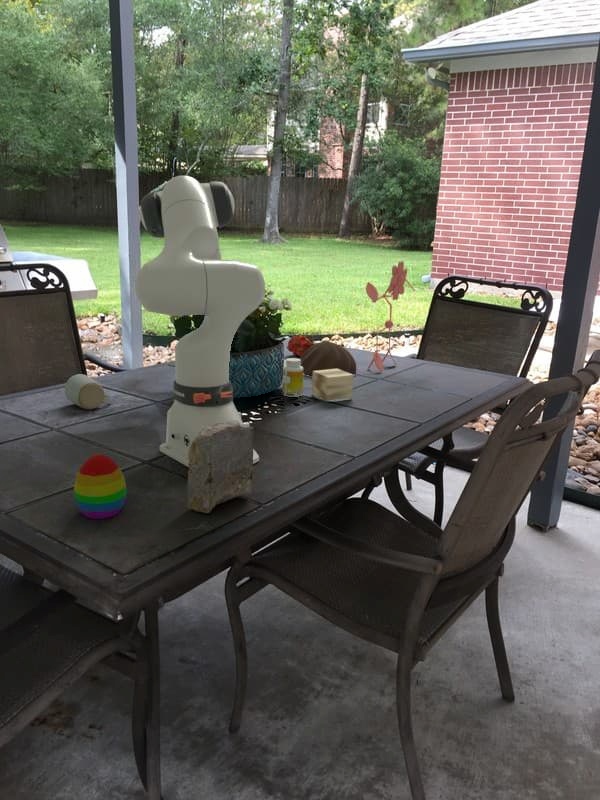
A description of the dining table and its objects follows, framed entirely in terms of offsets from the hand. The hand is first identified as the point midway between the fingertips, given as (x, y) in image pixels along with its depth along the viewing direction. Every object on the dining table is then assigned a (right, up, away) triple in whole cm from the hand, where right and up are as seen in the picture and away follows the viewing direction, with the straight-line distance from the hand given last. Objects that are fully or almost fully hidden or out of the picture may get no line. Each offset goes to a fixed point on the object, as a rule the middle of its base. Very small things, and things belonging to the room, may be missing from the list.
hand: (296, 376), depth 180 cm
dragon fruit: (+2, +9, +51) cm, 52 cm away
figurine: (+31, +3, +36) cm, 48 cm away
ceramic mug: (-52, -8, -13) cm, 54 cm away
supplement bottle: (-1, -5, +2) cm, 6 cm away
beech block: (+10, -6, +1) cm, 11 cm away
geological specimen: (-12, -24, -67) cm, 72 cm away
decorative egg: (-32, -25, -71) cm, 81 cm away
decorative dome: (+9, +2, +31) cm, 32 cm away
